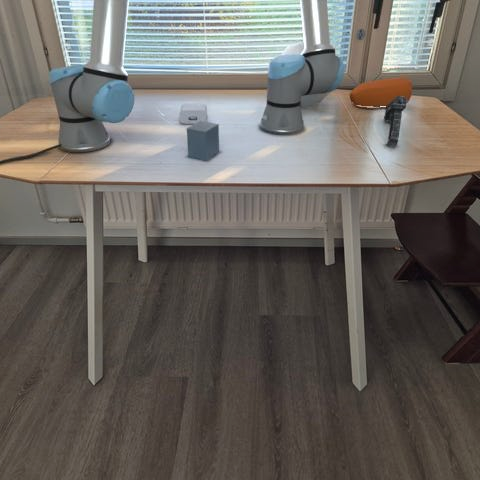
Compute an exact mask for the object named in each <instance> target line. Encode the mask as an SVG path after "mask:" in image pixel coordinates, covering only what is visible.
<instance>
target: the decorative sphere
mask: <svg viewBox="0 0 480 480" xmlns="http://www.w3.org/2000/svg"><path fill="white" fill-rule="evenodd" d="M303 50H304V40H301V41H299V42H295V43H293V44H290V45H287V46H286V47H285V49H283V51H282V52H281V54H280V55H279V56H281V55H286V54H289V55H291V54H299V55H301V53H302V52H303ZM330 93H331V92H327V93H324V94H321V93H320V94H313V95H304V96H301V105H300V107H301V109H306V108H310V107H313V106H315V105H317V104H321V103H322V102H323V100H325V98H326V97H327V96H328V95H329V94H330Z"/></svg>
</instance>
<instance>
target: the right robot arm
mask: <svg viewBox="0 0 480 480" xmlns="http://www.w3.org/2000/svg"><path fill="white" fill-rule="evenodd" d="M450 1H451V0H439V1H436V3H435V6H434V10H433V14H432V17H431V21H430V25H429V30H428V34H433V32H434V28H435V25H436V22H437V18H439V19H440V18H441V17H442V16H443V12H444V9H445V5H446V3H447V2H450ZM299 3H300V14H301V25H302V36H303V37H302V38H303V41H304V50H303V52H302V53H301V55H299V54H291V55H289V54H286V55H281V54H280V55H281V56H280V55H277V56H275V57H273V58H271V60H270V61H269V63H268V70H267V88H266V89H267V91H266V106H265V109H264V111H263V113H262V117H261V119H260V123H259V124H260V125H259V126H260V127H259V128H260V129H261V130H262V131H263V132H266V133H268V134H273V135H278V136H290V135H297V134H299V133H301V132H303V131H304V127H305V122H304V119H303V112H302V107H300V105H301V96H304V95H313V94H320V93H321V94H324V93H327V92H330V93H331V92H334V91H335V90H337V89H338V88H339V86H340V84H341V83H342V81H343V78H344V73H345V64H344V62H343V60H342V58H341V57H340V56H339V55H336V48H335V47H334V46H333V45H332V44H331V38H330V25H329V23H330V21H329V13H328V12H329V9H328V0H299ZM383 5H384V0H374V1H373V7H372V14H374V15H375V19H374V25H373V30H378V29H379V27H380V21H381V16H382V11H383Z"/></svg>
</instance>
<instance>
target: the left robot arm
mask: <svg viewBox="0 0 480 480" xmlns="http://www.w3.org/2000/svg"><path fill="white" fill-rule="evenodd" d="M129 3H130V0H93V4H92V5H93V6H92V20H91V21H92V23H91V37H90V40H91V41H90V53H89V54H90V55H89V60H88V61H87V62H86V63H85V64H77V65H69V66H63V67H57V68H54V69H52V70H50V71H49V73H48V76H49V77H48V78H49V85H50V86H51V90H52V93H53V94H52V95H53V98H54V102H55V107H56V111H57V114H58V118H59V132H58V133H59V134H58V144H55V145H53V146H50V147H48V148H45V149H43V150H40V151H37V152H33V153H30V154H25V155H21V156H15V157H9V158H5V159H2V160H0V165H1V164H5V163H9V162H14V161H18V160H19V161H20V160H24V159H28V158H33V157H37V156H40V155H42V154H45V153H47V152H50V151H53V150H56V149H58V148H60V149H61V150H62V151H64V152H68V153H74V154H76V153H77V154H81V153H82V154H83V153H90V152H96V151H99V150H102V149H104V148H106V147H107V146H108V145H109V144H110V143H111V140H110V139H111V138H110V135H109V133H108V130H107V129H106V127H105V125H104V123H108V124H117V123H121V122H123V121H125V119H126V118H127V117H129V116H130V114H131V113H132V111H133V108H134V106H135V94H134V91H133V88H132V87H131V85H130V84H129V83H128V80H129V79H128V78H129V74H128V73H127V71H126V70H125V68H124V62H125V61H124V60H125V50H126V49H125V48H126V39H127V28H128V27H127V26H128V17H129V15H128V14H129Z"/></svg>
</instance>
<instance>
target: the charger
mask: <svg viewBox="0 0 480 480" xmlns="http://www.w3.org/2000/svg"><path fill="white" fill-rule="evenodd" d="M207 114H208V111H207V104H206V103H204V102H202V103H201V102H190V103H189V102H184V103H182V104H181V106H180V110H179V123H181V124H184V125H186V124H187V125H193V124H195V123H197V122H199V121H205V122H207V116H208V115H207Z"/></svg>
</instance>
